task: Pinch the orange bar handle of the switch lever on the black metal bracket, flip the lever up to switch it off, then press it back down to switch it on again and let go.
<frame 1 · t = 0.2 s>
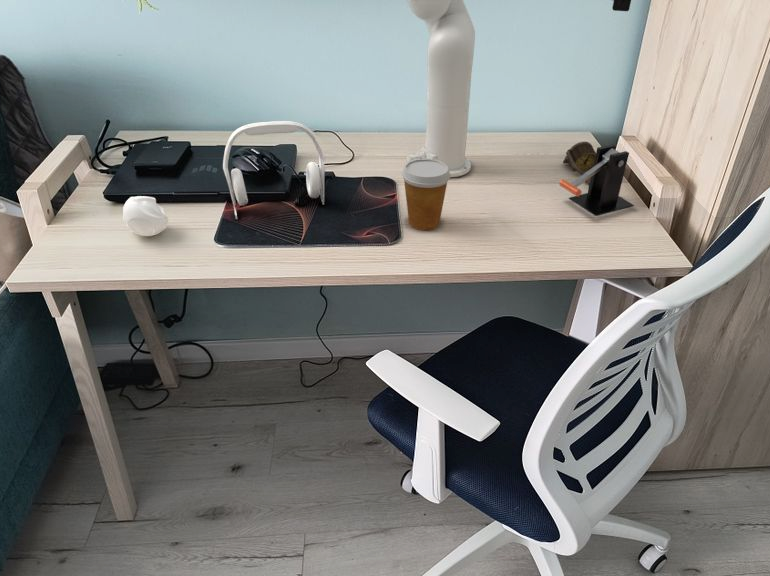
hand: (616, 5, 128), 37 cm above the table, tool pointing down, fingers open, 9 cm apart
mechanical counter: (582, 178, 152), on the table
disposable coffee cup: (424, 223, 131), on the table
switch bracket: (600, 206, 141), on the table
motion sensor: (150, 234, 123), on the table
headset: (280, 207, 134), on the table
lever: (592, 172, 133), point 9 cm above the table, hinge at -25.0°
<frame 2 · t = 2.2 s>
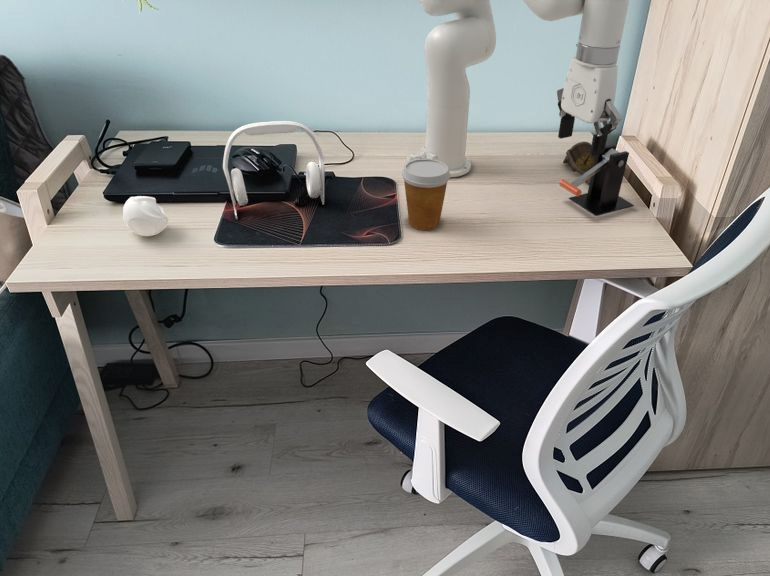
hand: (580, 145, 127), 15 cm above the table, tool pointing down, fingers open, 9 cm apart
nothing on the table moved.
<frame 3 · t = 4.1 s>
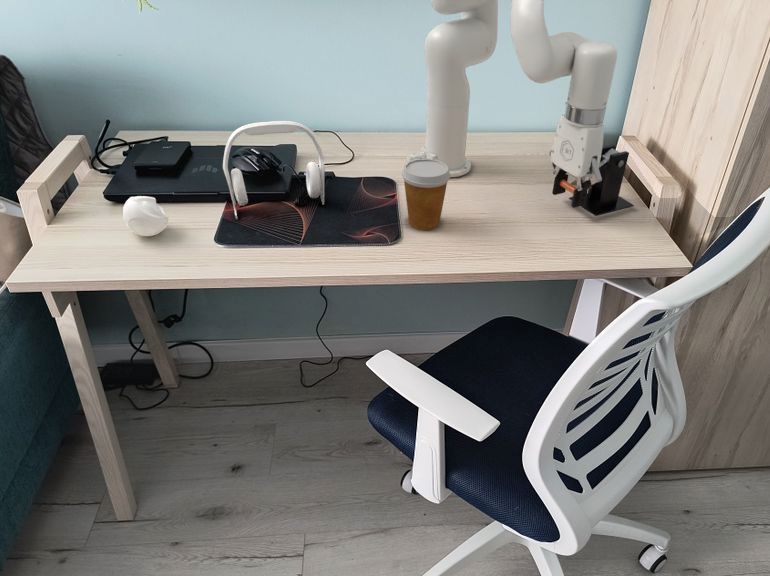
hand: (568, 198, 134), 4 cm above the table, tool pointing down, fingers closed on lever, 5 cm apart
lever: (592, 172, 133), point 9 cm above the table, hinge at -25.0°, touching gripper
everything else where it was.
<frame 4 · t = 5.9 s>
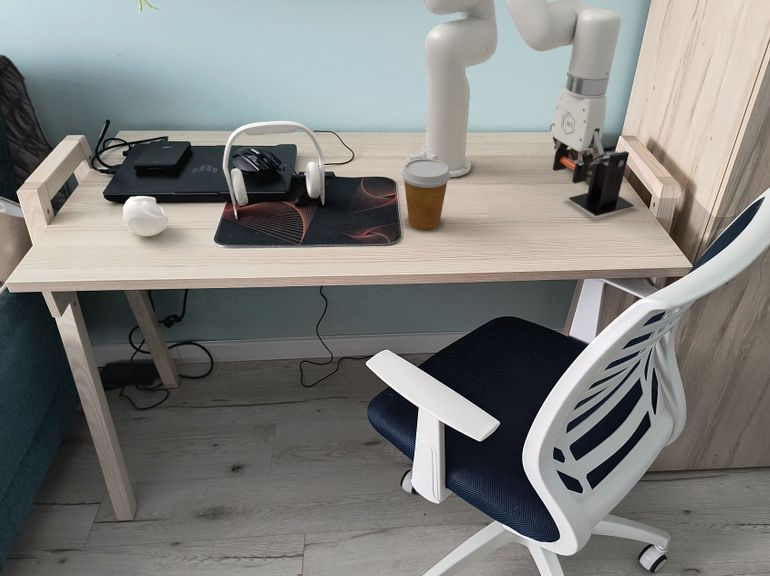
hand: (569, 174, 130), 9 cm above the table, tool pointing down, fingers closed on lever, 5 cm apart
lever: (592, 161, 132), point 11 cm above the table, hinge at 3.2°, touching gripper
everything else where it was.
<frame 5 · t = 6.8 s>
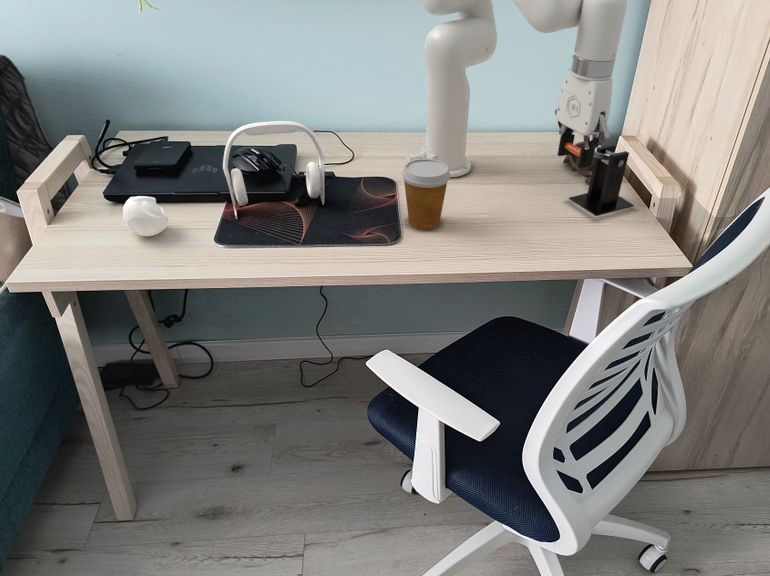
hand: (574, 159, 129), 12 cm above the table, tool pointing down, fingers closed on lever, 5 cm apart
lever: (595, 154, 131), point 13 cm above the table, hinge at 18.4°, touching gripper
everything else where it was.
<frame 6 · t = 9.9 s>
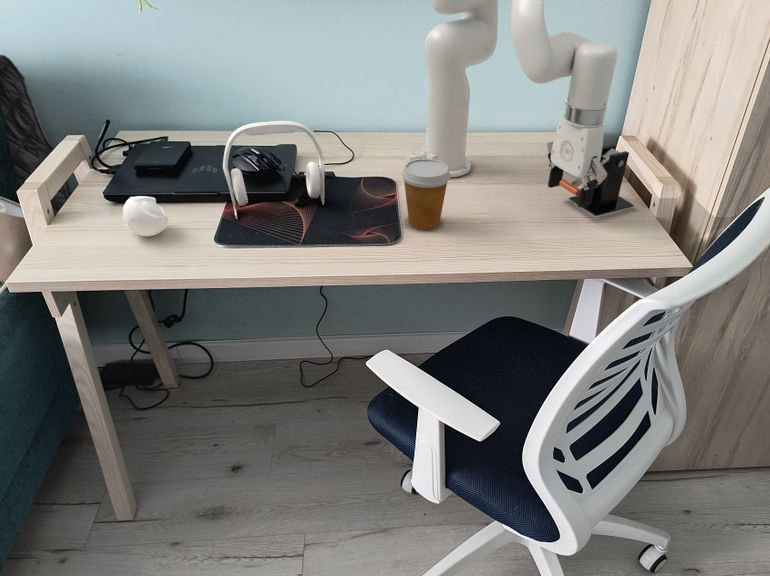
hand: (568, 195, 134), 5 cm above the table, tool pointing down, fingers open, 9 cm apart
lever: (592, 172, 133), point 9 cm above the table, hinge at -24.9°
everything else where it was.
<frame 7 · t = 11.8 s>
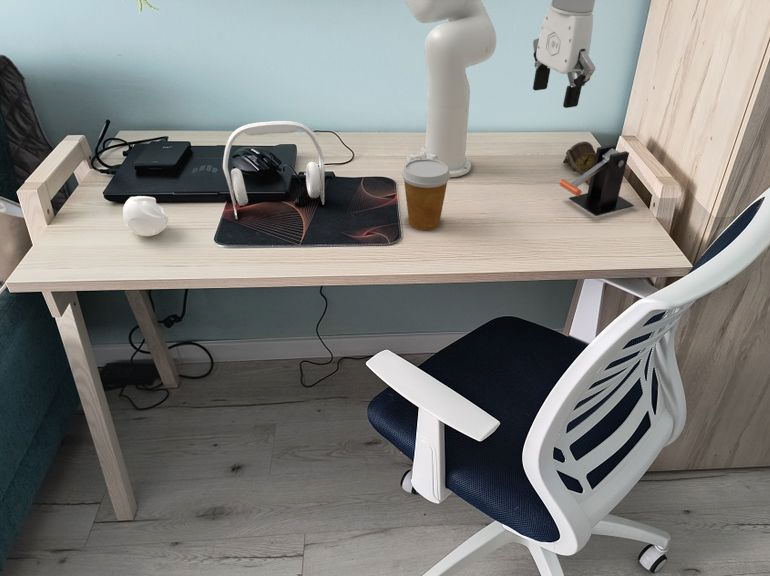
hand: (554, 97, 126), 23 cm above the table, tool pointing down, fingers open, 9 cm apart
nothing on the table moved.
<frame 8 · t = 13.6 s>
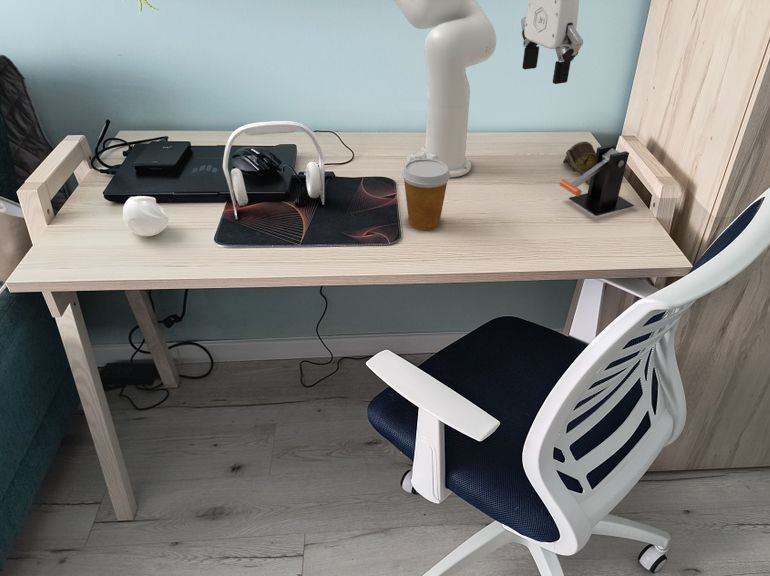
hand: (544, 75, 125), 26 cm above the table, tool pointing down, fingers open, 9 cm apart
nothing on the table moved.
at the end: lever reached +18° during the clip, -25° at the end; lever at -25° (first picture: -25°) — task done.
